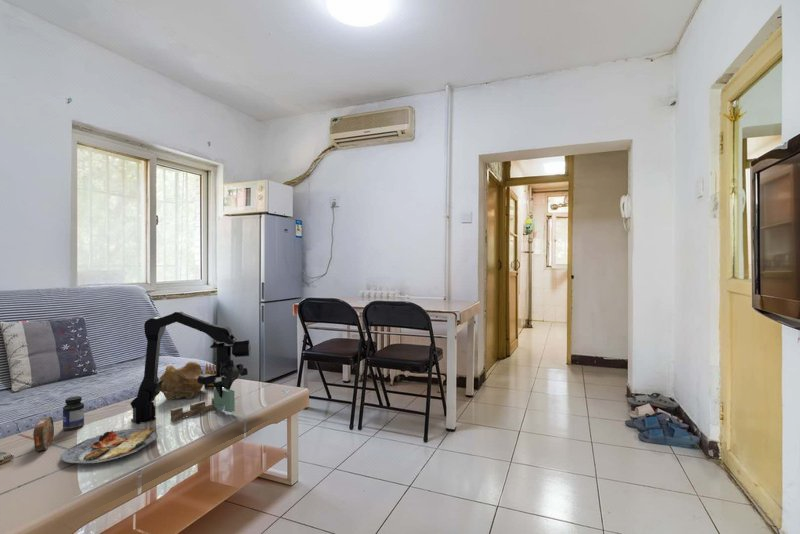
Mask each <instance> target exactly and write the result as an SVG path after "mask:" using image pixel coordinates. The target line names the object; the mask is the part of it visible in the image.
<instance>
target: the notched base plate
mask: <svg viewBox="0 0 800 534" xmlns="http://www.w3.org/2000/svg"><path fill="white" fill-rule="evenodd" d="M211 409H212V410H216V408H215V407H214V397H211V402H210V403H208V404H206V401H205V400H201V401H197V402H194V403H190V404H189V409H186V410H183V407H181V406H178V407H176V408H171V409H170V421H172V420H173V421H172V422H174V420H175V421H178V420H181V419H184V418H183V417H185V418H187V417H186V416H188V417H192V416H194V415H198V414H201V412H202V413H204V411H205V412H208V411H211ZM191 415H192V416H191ZM180 418H181V419H180ZM177 419H178V420H177Z"/></svg>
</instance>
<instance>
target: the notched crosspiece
mask: <svg viewBox="0 0 800 534" xmlns="http://www.w3.org/2000/svg"><path fill="white" fill-rule="evenodd" d="M222 391H223V395H222V397H220V396H219V394H218V392H217V390H216V388H215V387H214V388H213V398H214V407H215V409H219V410H220V409H223V408H224V409H223V410H224V411H225V412H228V413H233V412H235V408H236V407H235V406H236V405H235V399H236V398H235V390H234V389H230V390H229V389H226V388H222Z"/></svg>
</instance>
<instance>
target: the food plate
mask: <svg viewBox="0 0 800 534" xmlns="http://www.w3.org/2000/svg"><path fill="white" fill-rule="evenodd" d="M158 438H159V435H158V433H157V432H156V431H155V430H154V428H153V427H150V428H147V429H146V428H128V429H127V428H125V429H120V430H110V431H106V432H104V433H103V434H99V435H96V436H95V437H91V438H87V439H85V440H82V441H81V442H79V443H78V444H76V445H73V446H71V447H70V448H68V449H66V450H64V451H63V452H62V453H61V454H60V455H59V459H60V460H62V461H63V462H66V463H70V464H81V465H84V464H97V463H98V464H99V463H103V462H113V461H115V460H116V459H120V458H123V457H125V456H128V455H131V454H134V453H136V452H138V451H139V450H141V449H143V448H145V447H147V445H149V444H151V443H153V441H155V440H156V439H158ZM83 455H84V457H83ZM81 457H83V458H82V459H83V460H82V459H80V458H81ZM97 459H98V460H97Z"/></svg>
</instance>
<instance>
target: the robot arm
mask: <svg viewBox="0 0 800 534" xmlns="http://www.w3.org/2000/svg"><path fill="white" fill-rule="evenodd" d="M176 323H177V324H181V325H183V326H187V327H189V328H191V329H193V330H197V331H198V332H202V333H203V334H204V333H205V334H206V335H208V336H209V338H211V339H213V340H215V341H213V343H212V344H211V345H210V346H209V348H210V349H215V360H214V361H213V363H214V365H215V369H216V371H214V373H215V374H216V375H211V374H205V373H203V374H204V375H200V376H199V377H198V383H200V384H204V385H207V384H211V383H213V385H214V386H215V388H216V390H217V392H218V394H219V396H220V397H222V395H223V391H222V384H223V382H224V388H226V389H229V390H231V387H232V385H233V383H234V381H236V380H238V378H240V377H239V376H242V377H244V376H247V375H248V374H249V370H248V368H247V367H244V365H243V364H242V363H238V364H234V359H232V356H233V357H235V358H244V357H245V358H246V357H251V353H252V352H251V351H252V350H251V349H252V347H251V343H250V339H244V340H243V339H242V340H238V339H237V338H236V337H235V336H234V335H233V331H232V329H231V328H230V327H229V326H225V325H221V324H214V323H210V322H207V321H204V320H202V319H199V318H197V317H195V316H192V315H190V314H187V313H184V311H180V310H179V311H178V310H177V311H174V312H172V313H171V314H168V315H167V314H166V315H165V316H156V317H152V318H148V319H147V320H146V321H145V322H144V324H143V326H144V327H143V328H144V335H145V338H146V349H145V350H146V352H145V361H144V363H145V364H144V371H143V372H144V373H143V378H142V380H141V383H140V385H139V388H138V392H137V396H135V398H134V399H133V400H132V401H131V402H130V403H129V404H130V406H131V408H132V418H131V420H130V421H131V422H133V423H135V424H136V425H137V424H139V425H140V424H142V423H146V422H150V421H153V420H156V419H157V417H156V405H155V403H154V401H155V398H156V397H157V396H158V395H159V394H160V392H161V390H162V386H161V385H162V381H163V380H160V378H159V377H158V373H159V372H158V370H159V360H160V350H161V342H162V341H161V340H162V338H163V336H164V333H165V331H166V328H167V326H170V325H172V324H176ZM221 378H224V381H221ZM204 385H203V386H204Z"/></svg>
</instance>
